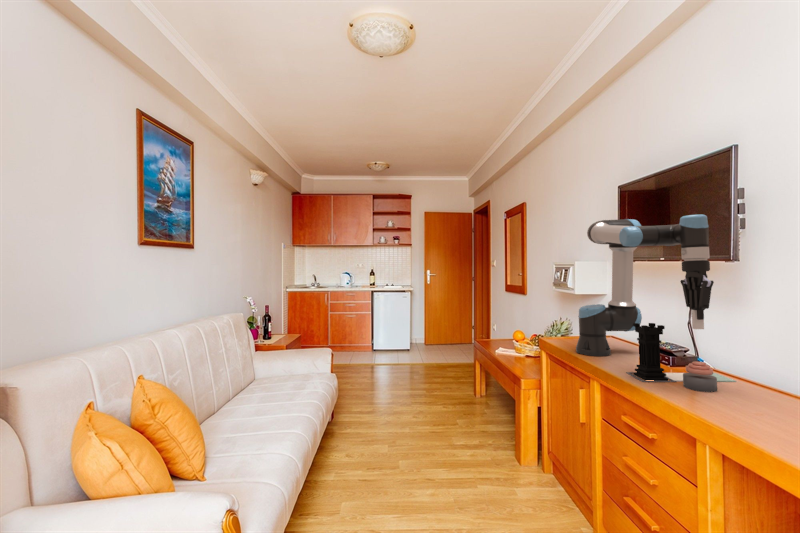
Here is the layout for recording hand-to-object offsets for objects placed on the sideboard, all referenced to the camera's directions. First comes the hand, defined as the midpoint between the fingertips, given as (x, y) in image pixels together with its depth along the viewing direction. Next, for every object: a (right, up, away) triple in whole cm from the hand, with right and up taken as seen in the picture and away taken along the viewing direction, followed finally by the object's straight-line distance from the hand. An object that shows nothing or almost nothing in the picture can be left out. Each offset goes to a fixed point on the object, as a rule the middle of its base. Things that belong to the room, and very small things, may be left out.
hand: (698, 328), depth 125 cm
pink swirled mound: (0, -15, 0) cm, 15 cm away
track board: (+3, -20, +12) cm, 24 cm away
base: (+1, -20, 0) cm, 20 cm away
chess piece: (-7, -21, +13) cm, 26 cm away
